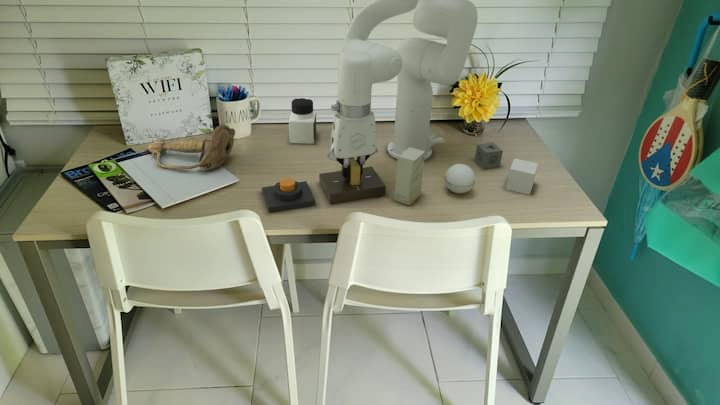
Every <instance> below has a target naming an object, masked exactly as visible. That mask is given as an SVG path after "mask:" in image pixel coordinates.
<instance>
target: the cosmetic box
mask: <svg viewBox="0 0 720 405" xmlns="http://www.w3.org/2000/svg"><path fill="white" fill-rule="evenodd" d="M424 157H425V151H422V150H419V149H416V148H412V147H408V148H407V149H406V150H405V151H403V152H402V153H401V154H400V155H399V156H398V159H396V173H395V186H394V199H393V200H394V201H395V202H398V203H401V204H404V205H407V206H411V205H412V204H413V203H414V202H415V201H416V200H417V199H418V198H419V197H420V196H421V194H422V186H423V176H424V165H425V160H424Z"/></svg>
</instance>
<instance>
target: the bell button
mask: <svg viewBox="0 0 720 405" xmlns="http://www.w3.org/2000/svg"><path fill="white" fill-rule="evenodd" d="M295 181H296V180H295V179H293V178H290V177H289V178H288V177H286V178H282V179H281V180H279V182H280V190H281V191H283V192H292V191H294V190H295Z"/></svg>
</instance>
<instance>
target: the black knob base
mask: <svg viewBox="0 0 720 405" xmlns="http://www.w3.org/2000/svg"><path fill="white" fill-rule="evenodd" d="M261 193H262V196H263V199H264V203H265V205H266V208H267V212H268V214H271V213H279V212H284V211H292V210H298V209H304V208H311V207H316V199H315V197H314V194H313V193H312V191H311V188H310V186H309V184H308V182H307V180H305V181H299V182H298V181H297V180H295V190H294V191H292V192H283V191H281V190H280V181H278V182H276V183H275V184H274V185H269V186H262V187H261Z"/></svg>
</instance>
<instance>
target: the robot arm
mask: <svg viewBox="0 0 720 405" xmlns="http://www.w3.org/2000/svg"><path fill="white" fill-rule="evenodd" d="M412 11H414V13H413V17H412V24H413V27H414V29H416V31H418V32H420V33H423V34H427V35H430V36H435V37H438V38H443V39H447V40H446V43H443V42H437V41H434V40H430V39H425V38H421V37H408V38H406V39H404V40H402V41H401V42H400V43H399V45H398V46H397V49H396V48H394V47H391V46H388V45H384V44H380V43H377V42H373V41H368V38H369V37H370V35H371V33H372V31H373V30H374V29H375V28H376V27H377V26H378V25H380V24H381V23H382V22H384V21H386V20H388V19H391V18H394V17H397V16H400V15H403V14H407V13H409V12H412ZM477 25H478V10H477V7H476V5H475V3H473V2H472V1H471V0H370V1H369V2H368V3H366V5H365V6H364V7H362V9H361V10H360V11H359V12H358V13H357V14H356V15H355V16H354V18H352V21H351V22H350V24H349V26H348V30H347V32H346V35H345V37H344V41H343V43H342V47H341V51H340V54H339V56H338V58H337V100H336V103H334V104H332V105H330V107H331V108H330V109H331V111H332V112H334V115H333V118H332V125H331V134H330V148H329V150H328V152H327V155H326V156H327V158H328V160H331V161H335V162H337V163H338V164H340V165H341V171H342V176H343V177H345V179H346V181H347V182H350V173H351V168H350V166H349V158H351V157H354V158H355V160H356V161H357V163H358V164H359V165H360V180H361V175H362V174H363V168H364V166H365V164H366V162H367V160H369V159H370V158H371V156H373V155H376V154H377V153H378V152H379V150H378V148H377V126H376V118H375V113H374V112H373V111H372V110H371V109H372V92H373V91H372V88H373V87H372V86H373V85H374V84H377V83H384V82H389V81H391V80H393V79H395V78H397V88H396V102H395V114H394V115H395V116H394V129H393V140H392V141H390V142H389V143H388V144H387V148H386V149H387V150H386V151H387V153H388V154H389V156H391V157H392V158H394V159H396V160H397V159H398V156H399V155H400V154H401V153H402V152H403V151H405V150H406V149H407V148H408V147H412V148H416V149H419V150H422V151H425V157H424V161H426V160H428V159H429V158H431V156H432V154H433V148H432V147H434V146H435V145H436V146H439V145H444V138H443V137H436V135H435V134H433V135H429V134H430V133H429V132H430V125H431V115H432V106H433V100H434V99H433V98H434V90H433V87H432V83H435V84H438V85H442V86H453V85H454V84H456V83H457V82H458V81H459V80H460V78H461V76H462V74H463V71H464V68H465V64H466V62H467V58H468V55H469V52H470V49H471V45H472V42H473V39H474V36H475V34H476V33H475V32H476V30H477ZM431 82H432V83H431Z"/></svg>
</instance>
